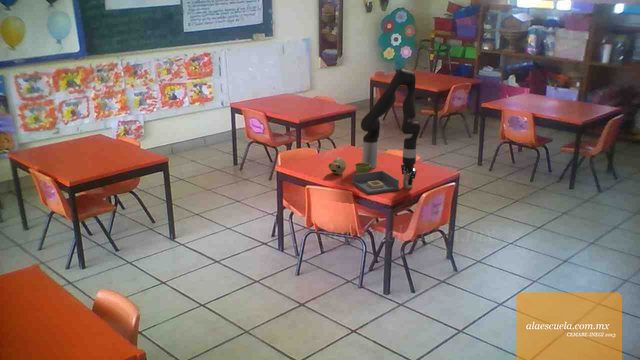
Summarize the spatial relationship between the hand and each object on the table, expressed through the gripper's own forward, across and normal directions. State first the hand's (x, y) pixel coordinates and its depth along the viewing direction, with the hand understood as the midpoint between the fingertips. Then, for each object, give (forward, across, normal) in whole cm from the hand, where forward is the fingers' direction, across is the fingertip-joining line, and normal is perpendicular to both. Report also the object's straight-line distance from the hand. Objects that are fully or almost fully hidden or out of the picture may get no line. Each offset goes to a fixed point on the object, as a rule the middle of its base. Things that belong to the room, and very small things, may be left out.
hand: (407, 183), depth 349 cm
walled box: (+2, +8, +17) cm, 19 cm away
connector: (+2, 0, 0) cm, 2 cm away
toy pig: (+3, +38, +28) cm, 47 cm away
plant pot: (+3, +25, +17) cm, 30 cm away
